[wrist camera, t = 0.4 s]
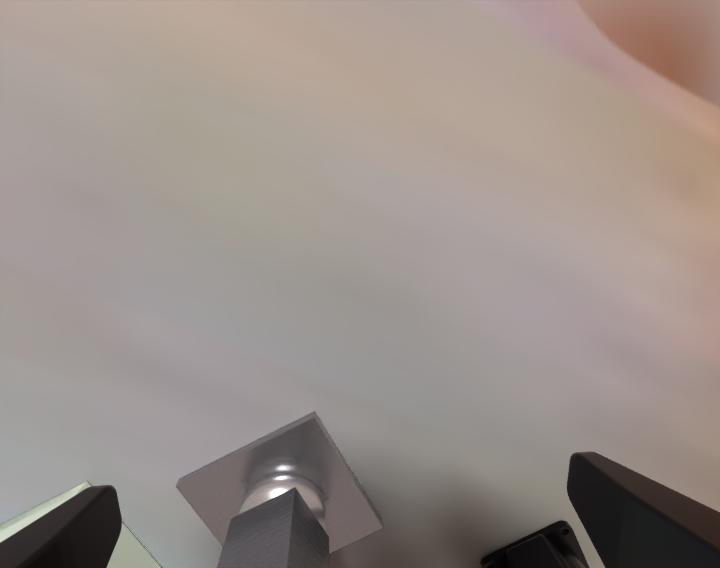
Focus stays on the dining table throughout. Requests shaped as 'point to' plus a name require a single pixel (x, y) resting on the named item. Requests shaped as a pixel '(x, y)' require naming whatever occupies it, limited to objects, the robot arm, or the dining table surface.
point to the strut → (276, 536)
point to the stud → (284, 483)
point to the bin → (129, 557)
